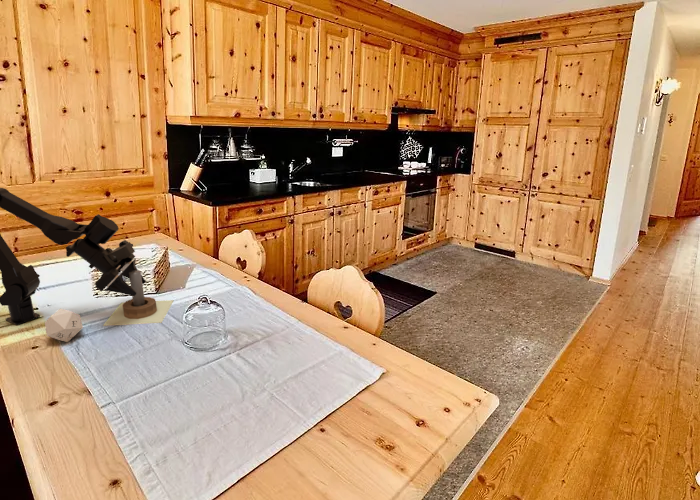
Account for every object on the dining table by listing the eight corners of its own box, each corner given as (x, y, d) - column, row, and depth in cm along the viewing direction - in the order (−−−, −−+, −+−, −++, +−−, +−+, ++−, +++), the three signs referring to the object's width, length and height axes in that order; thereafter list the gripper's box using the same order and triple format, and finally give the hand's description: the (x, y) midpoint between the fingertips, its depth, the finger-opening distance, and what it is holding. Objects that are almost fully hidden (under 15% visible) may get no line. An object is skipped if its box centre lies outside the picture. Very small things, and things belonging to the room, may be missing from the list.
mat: (102, 326, 127) (102, 325, 127) (121, 303, 142) (121, 302, 142) (161, 323, 129) (161, 322, 129) (174, 301, 144) (173, 300, 144)
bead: (117, 314, 134) (116, 305, 133) (143, 303, 141) (142, 294, 140) (137, 321, 130) (135, 311, 129) (162, 309, 137) (161, 301, 136)
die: (46, 351, 115) (65, 324, 113) (32, 328, 118) (50, 301, 116) (77, 347, 123) (94, 322, 121) (62, 326, 126) (79, 300, 124)
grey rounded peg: (132, 314, 134) (126, 273, 130) (138, 309, 137) (132, 270, 133) (142, 314, 134) (136, 274, 130) (148, 310, 137) (142, 270, 133)
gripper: (101, 244, 119) (149, 281, 124) (124, 227, 136) (165, 259, 141) (74, 273, 120) (123, 308, 125) (100, 252, 137) (142, 283, 142)
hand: (140, 288), depth 133 cm, fingers open, 9 cm apart
